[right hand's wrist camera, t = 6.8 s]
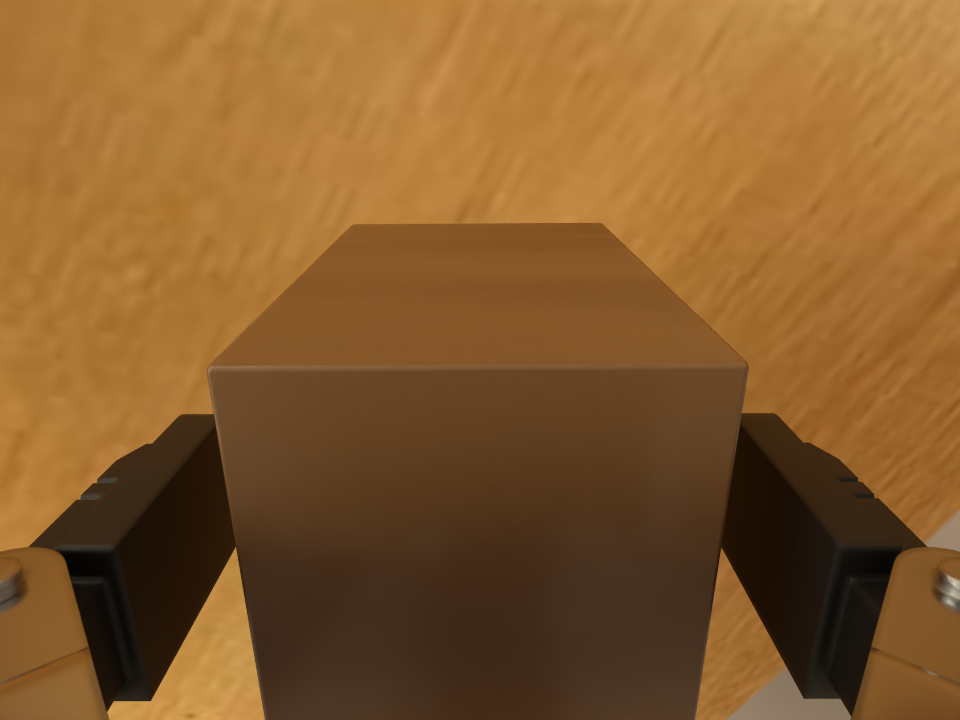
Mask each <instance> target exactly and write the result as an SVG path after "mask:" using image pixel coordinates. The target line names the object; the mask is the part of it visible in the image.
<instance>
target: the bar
mask: <svg viewBox="0 0 960 720" xmlns="http://www.w3.org/2000/svg"><path fill="white" fill-rule="evenodd" d="M747 374H748V363H747V362H746V361H745V360H744V359H743V358H742V357H741V356H740V355H739V354H738V353H737V352H736V351H735V350H734V349H733V348H732V347H731V346H730V345H729V344H728V343H726V342H725V341H724V340H723V339H722V338H721V337H720V336H719V335H718V334H717V333H716V332H715V331H714V330H713V329H712V328H711V327H710V326H709V325H708V324H707V323H706V322H705V321H703V320H702V319H701V318H700V317H699V316H698V315H697V314H696V313H695V312H694V311H693V310H692V309H691V308H690V307H689V306H688V305H687V304H686V303H685V302H684V301H683V300H682V299H680V298H679V297H678V296H677V295H676V294H675V293H674V292H673V291H672V290H671V289H670V288H669V287H668V286H667V285H666V284H665V283H664V282H663V281H662V280H661V279H660V278H659V277H657V276H656V275H655V274H654V273H653V272H652V271H651V270H650V269H649V268H648V267H647V266H646V265H645V264H644V263H643V262H642V261H641V260H640V259H639V258H638V257H637V256H636V255H634V254H633V253H632V252H631V251H630V250H629V249H628V248H627V247H626V246H625V245H624V244H623V243H622V242H621V241H620V240H619V239H618V238H617V237H616V236H615V235H614V234H613V233H611V232H610V231H609V230H608V229H607V228H606V227H605V226H604V225H603V224H601V223H520V224H365V225H352V226H351V227H350V228H349V229H347V230H346V231H345V232H344V233H343V234H342V235H341V236H340V237H339V238H338V239H337V240H336V241H335V242H334V243H333V244H332V245H331V246H330V247H329V248H328V249H327V250H326V251H325V252H324V253H323V254H322V255H321V256H320V257H319V258H318V259H317V260H316V261H315V262H314V263H313V264H312V265H311V266H310V267H309V268H308V269H307V270H306V271H305V272H304V273H303V274H302V275H301V276H300V277H299V278H297V279H296V280H295V281H294V282H293V283H292V284H291V285H290V286H289V287H288V288H287V289H286V290H285V291H284V292H283V293H282V294H281V295H280V296H279V297H278V298H277V299H276V300H275V301H274V302H273V303H272V304H271V305H270V306H269V307H268V308H267V309H266V310H265V311H264V312H263V313H262V314H261V315H260V316H259V317H258V318H257V319H256V320H255V321H254V322H253V323H252V324H251V325H250V326H248V327H247V328H246V329H245V330H244V331H243V332H242V333H241V334H240V335H239V336H238V337H237V338H236V339H235V340H234V341H233V342H232V343H231V344H230V345H229V346H228V347H227V348H226V349H225V350H224V351H223V352H222V353H221V354H220V355H219V356H218V357H217V358H216V359H215V360H214V361H213V362H212V363H211V364H210V365H209V366H208V368H207V376H208V382H209V388H210V394H211V400H212V406H213V412H214V418H215V424H216V430H217V435H218V441H219V447H220V453H221V459H222V465H223V471H224V477H225V483H226V489H227V495H228V501H229V507H230V513H231V519H232V525H233V531H234V537H235V543H236V549H237V555H238V561H239V567H240V573H241V579H242V585H243V591H244V597H245V603H246V609H247V615H248V621H249V626H250V632H251V638H252V644H253V650H254V656H255V662H256V668H257V674H258V680H259V686H260V692H261V698H262V704H263V710H264V716H265V720H695V715H696V709H697V702H698V696H699V689H700V683H701V676H702V670H703V663H704V656H705V650H706V643H707V637H708V630H709V624H710V617H711V611H712V604H713V597H714V591H715V584H716V578H717V571H718V565H719V558H720V552H721V545H722V538H723V532H724V525H725V519H726V512H727V506H728V499H729V493H730V486H731V479H732V473H733V466H734V460H735V453H736V447H737V440H738V434H739V427H740V420H741V414H742V407H743V401H744V394H745V388H746V381H747Z"/></svg>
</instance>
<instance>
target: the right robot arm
mask: <svg viewBox="0 0 960 720" xmlns="http://www.w3.org/2000/svg"><path fill="white" fill-rule="evenodd" d="M235 547H236V543H235V537H234V531H233V525H232V519H231V513H230V507H229V501H228V495H227V489H226V483H225V477H224V471H223V465H222V459H221V453H220V447H219V441H218V435H217V430H216V424H215V418H214V414H182V415H180V416H179V417H178V418H177V419H176V420H175V421H174V422H173V423H172V424H171V425H170V426H169V427H168V428H167V429H166V430H165V431H164V432H163V433H162V434H161V435H160V436H159V437H158V438H157V439H156V440H155V441H154V442H153V443H152V444H145V445H144V446H142V447H140V448H138V449H136V450H134V451H133V452H131V453H129V454H127V455H125V456H124V457H122V458H120V459H118V460H117V461H116V462H115V463H113V464H112V465H111V466H110V467H109V468H108V469H107V470H106V471H105V472H104V473H103V474H102V475H101V476H100V477H99V478H98V479H97V483H93V484H92V485H91V486H90V487H89V488H88V489H87V490H86V491H85V492H84V493H83V494H82V495H81V499H80V500H76V501H75V502H74V503H73V504H72V505H71V506H70V507H69V508H68V509H67V510H66V511H65V512H64V513H63V514H62V515H61V516H60V517H59V518H58V519H56V520H55V521H54V522H53V523H52V524H51V525H50V526H49V527H48V528H47V529H46V530H45V531H44V532H43V533H42V534H41V535H40V536H39V537H38V538H37V539H36V540H35V541H34V542H33V543H32V544H31V545H30V546H29V547H25V548H17V549H11V550H6V551H2V552H0V720H109V717H108V714H107V711H108V710H109V708H110V706H111V705H112V703H113V701H151V700H152V698H153V696H154V694H155V692H156V691H157V689H158V687H159V685H160V683H161V681H162V680H163V678H164V676H165V674H166V672H167V671H168V669H169V667H170V665H171V663H172V661H173V660H174V658H175V656H176V654H177V652H178V651H179V649H180V647H181V645H182V643H183V642H184V640H185V638H186V636H187V634H188V632H189V631H190V629H191V627H192V625H193V623H194V622H195V620H196V618H197V616H198V614H199V612H200V611H201V609H202V607H203V605H204V603H205V602H206V600H207V598H208V596H209V594H210V593H211V591H212V589H213V587H214V585H215V583H216V582H217V580H218V578H219V576H220V574H221V573H222V571H223V569H224V567H225V565H226V563H227V562H228V560H229V558H230V556H231V554H232V553H233V551H234V549H235ZM721 547H722V549H723V551H724V553H725V554H726V556H727V558H728V560H729V562H730V564H731V565H732V567H733V569H734V571H735V573H736V575H737V576H738V578H739V580H740V582H741V584H742V586H743V588H744V589H745V591H746V593H747V595H748V597H749V599H750V600H751V602H752V604H753V606H754V608H755V610H756V611H757V613H758V615H759V617H760V619H761V621H762V622H763V624H764V626H765V628H766V630H767V632H768V633H769V635H770V637H771V639H772V641H773V643H774V644H775V646H776V648H777V650H778V652H779V654H780V655H781V657H782V659H783V661H784V663H785V665H786V667H787V668H788V670H789V672H790V674H791V676H792V678H793V679H794V681H795V683H796V685H797V687H798V689H799V690H800V692H801V694H802V696H803V698H804V699H841V700H842V702H843V704H844V705H845V707H846V708H847V710H848V712H849V713H850V715H851V720H960V552H958V551H954V550H949V549H943V548H935V547H927V546H926V545H925V544H924V543H923V542H922V541H921V540H920V539H919V538H918V537H917V536H916V535H915V534H914V533H913V532H912V531H911V530H910V529H909V528H908V527H907V526H906V525H905V524H904V523H903V522H902V521H901V520H900V519H899V518H898V517H897V516H896V515H895V514H894V513H893V512H892V511H891V510H890V509H889V508H888V507H887V506H886V505H885V504H884V503H883V502H882V501H881V500H880V499H879V498H874V494H873V493H872V492H871V491H870V490H869V489H868V488H867V487H866V486H865V485H864V484H863V483H862V482H858V478H857V477H856V476H855V475H854V474H853V473H852V472H851V471H850V470H849V469H848V468H847V467H846V466H845V465H844V464H843V463H842V462H841V461H840V460H839V459H838V458H836V457H834V456H832V455H831V454H829V453H827V452H825V451H823V450H821V449H820V448H818V447H816V446H814V445H812V444H811V443H803V442H802V441H801V440H800V439H799V438H798V437H797V436H796V434H795V433H794V432H793V431H792V430H791V429H790V428H789V427H788V426H787V425H786V424H785V423H784V422H783V421H782V420H781V419H780V418H779V417H778V416H777V415H776V414H774V413H742V414H741V420H740V427H739V434H738V440H737V447H736V453H735V460H734V466H733V473H732V479H731V486H730V493H729V499H728V506H727V512H726V519H725V525H724V532H723V538H722V545H721Z"/></svg>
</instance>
